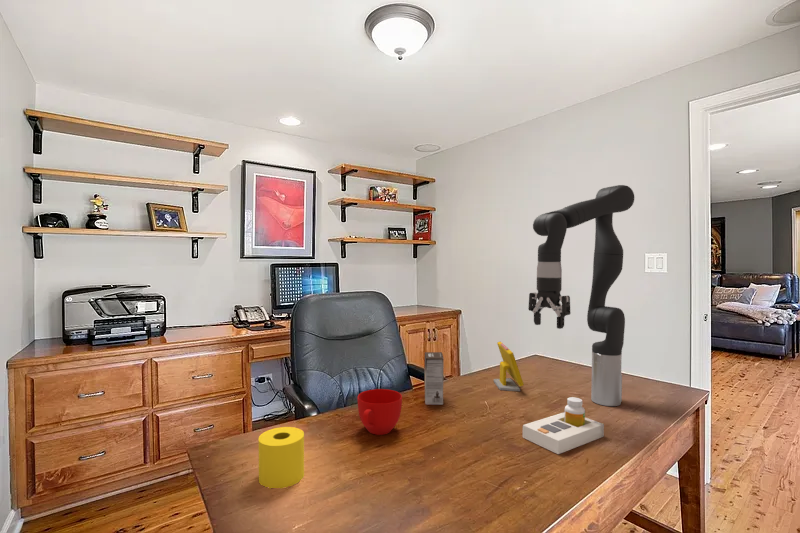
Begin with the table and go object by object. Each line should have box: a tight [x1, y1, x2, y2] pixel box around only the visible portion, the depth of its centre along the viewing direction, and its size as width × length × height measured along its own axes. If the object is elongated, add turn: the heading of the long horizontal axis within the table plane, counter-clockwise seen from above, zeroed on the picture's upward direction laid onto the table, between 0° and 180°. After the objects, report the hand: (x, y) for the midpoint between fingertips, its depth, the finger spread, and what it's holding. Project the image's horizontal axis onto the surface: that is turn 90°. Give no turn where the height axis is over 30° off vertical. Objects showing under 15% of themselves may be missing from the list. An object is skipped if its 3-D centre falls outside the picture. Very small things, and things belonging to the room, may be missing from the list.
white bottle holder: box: [522, 411, 605, 455], centre depth 116 cm, size 20×12×4 cm, turn 122°
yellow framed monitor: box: [493, 341, 524, 392], centre depth 162 cm, size 20×8×16 cm, turn 179°
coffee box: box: [424, 351, 445, 406], centre depth 146 cm, size 9×6×16 cm
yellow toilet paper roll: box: [258, 426, 305, 489], centre depth 95 cm, size 10×10×9 cm
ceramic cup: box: [357, 388, 403, 436], centre depth 119 cm, size 13×17×10 cm
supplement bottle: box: [564, 396, 586, 427], centre depth 119 cm, size 5×5×10 cm
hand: (548, 326), depth 133 cm, fingers open, 8 cm apart
